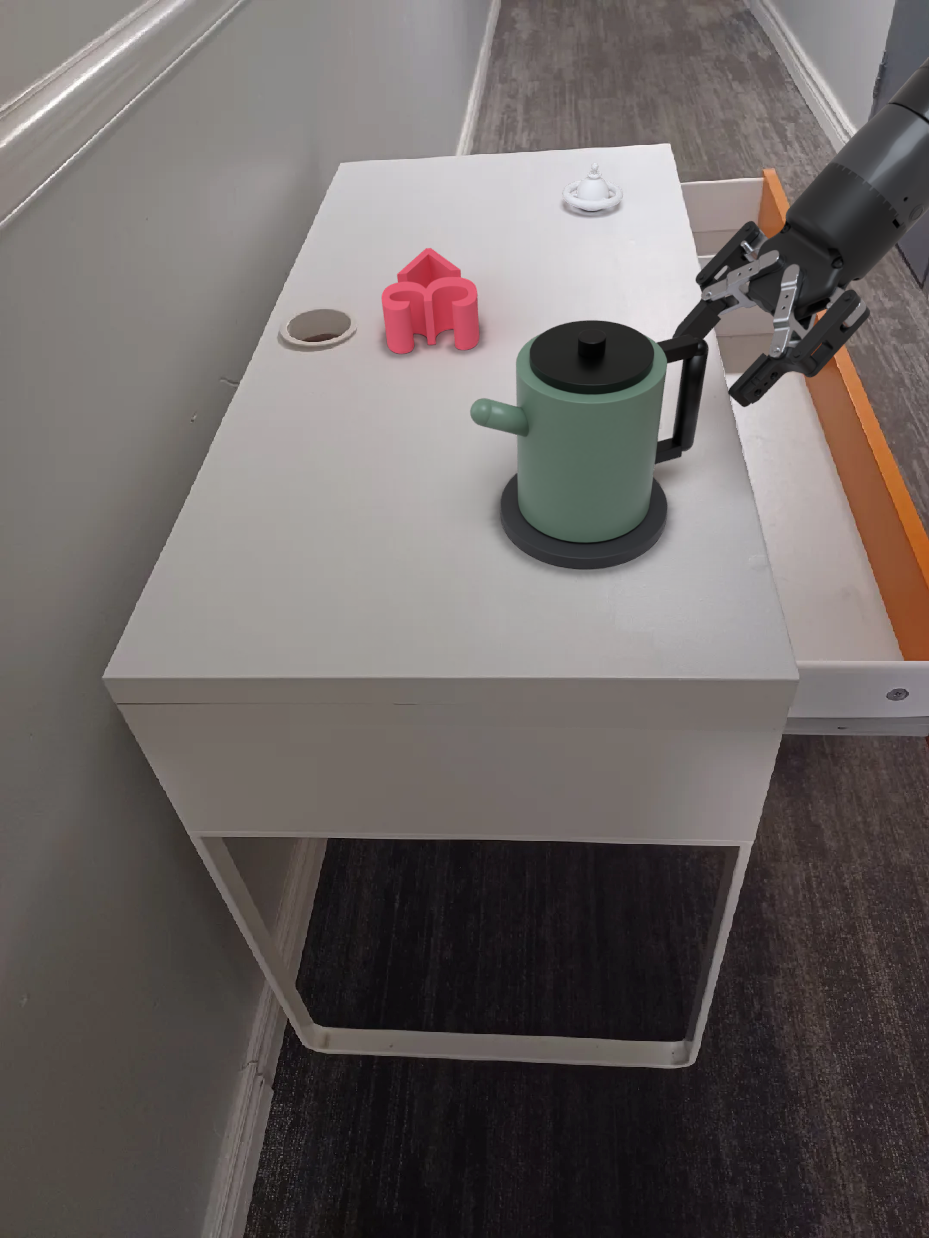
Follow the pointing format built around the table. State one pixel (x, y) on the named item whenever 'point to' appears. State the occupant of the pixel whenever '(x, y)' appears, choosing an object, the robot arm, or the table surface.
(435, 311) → the pink curled block
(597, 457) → the kettle
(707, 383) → the table surface
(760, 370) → the robot arm
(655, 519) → the kettle base
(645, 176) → the table surface
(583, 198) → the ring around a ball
